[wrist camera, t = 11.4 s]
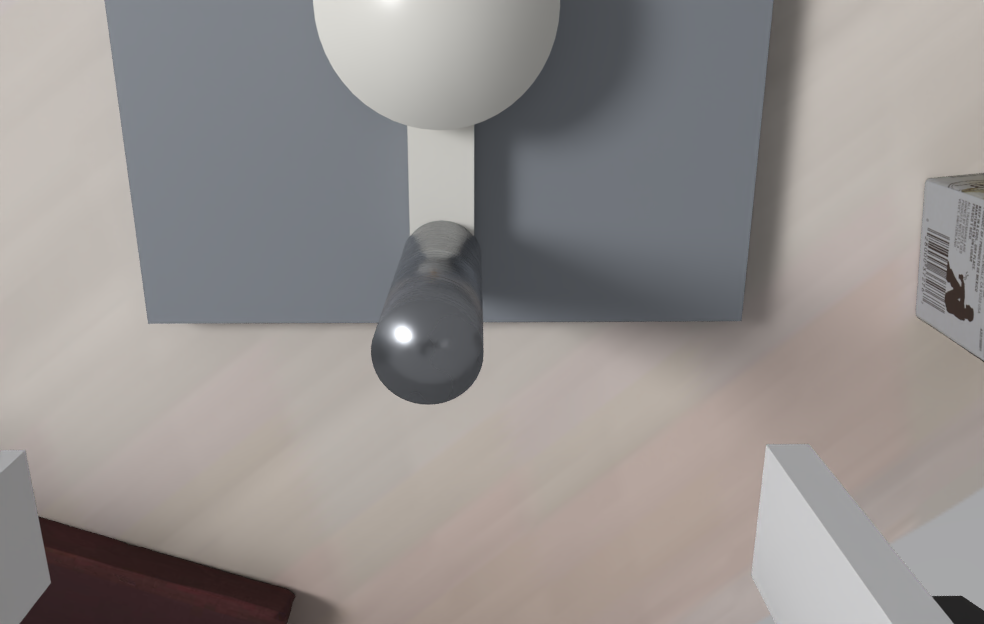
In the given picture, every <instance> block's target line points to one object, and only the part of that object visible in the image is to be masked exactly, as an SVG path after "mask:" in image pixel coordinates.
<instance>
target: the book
mask: <svg viewBox="0 0 984 624" xmlns="http://www.w3.org/2000/svg"><path fill="white" fill-rule="evenodd" d="M38 518H39V523H40V528H41V534H42V539H43V544H44V549H45V554H46V559H47V565H48V570H49V575H50V580H51V583H50V585H49V586H48V587H47V589H46V590H45V591H44V592H43V594H42V595H41V596H40V598H39V599H38V600H37V602H36V603H35V604H34V605H33V607H32V608H31V609H30V611H29V612H28V613H27V615H26V616H25V617H24V618H23V620H22V621H21V622H20V624H286V623H287V621H288V618H289V615H290V611H291V607H292V603H293V600H294V598H295V595H294V594H293V593H292V592H291V591H289V590H288V589H285V588H281V587H278V586H274V585H270V584H267V583H263V582H259V581H255V580H251V579H248V578H245V577H242V576H239V575H235V574H231V573H227V572H224V571H221V570H218V569H214V568H210V567H207V566H203V565H200V564H197V563H193V562H190V561H187V560H184V559H180V558H176V557H173V556H169V555H165V554H161V553H158V552H155V551H152V550H149V549H146V548H142V547H137V546H132V545H128V544H126V543H123V542H121V541H118V540H115V539H112V538H109V537H105V536H102V535H98V534H95V533H92V532H88V531H85V530H81V529H78V528H74V527H71V526H68V525H64V524H61V523H58V522H55V521H51V520H48V519H44V518H41V517H38Z"/></svg>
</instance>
